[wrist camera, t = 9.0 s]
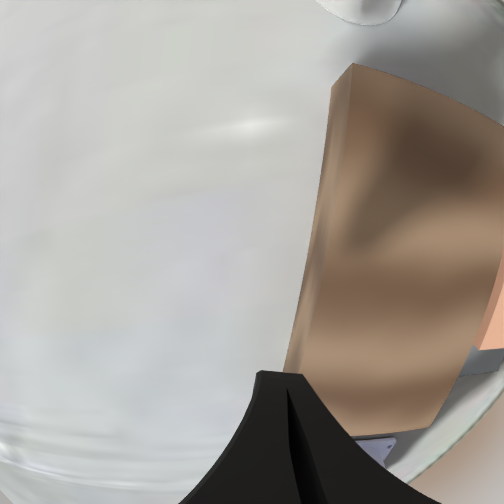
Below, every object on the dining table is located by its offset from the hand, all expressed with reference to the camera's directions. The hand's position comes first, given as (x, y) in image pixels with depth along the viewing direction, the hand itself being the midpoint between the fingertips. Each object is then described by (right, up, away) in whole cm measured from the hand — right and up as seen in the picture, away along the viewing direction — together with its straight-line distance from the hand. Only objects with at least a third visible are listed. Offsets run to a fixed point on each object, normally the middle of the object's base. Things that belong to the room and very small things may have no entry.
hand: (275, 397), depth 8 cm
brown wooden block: (+8, +3, +9) cm, 12 cm away
